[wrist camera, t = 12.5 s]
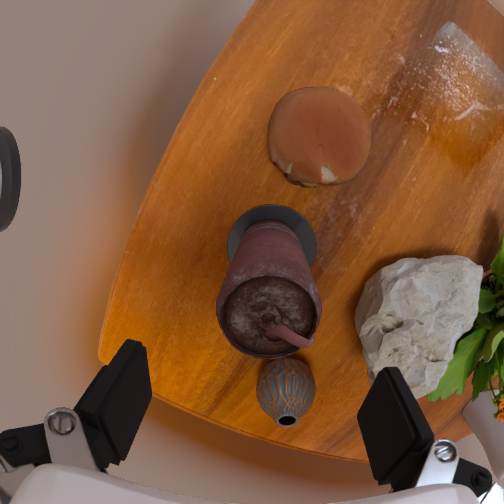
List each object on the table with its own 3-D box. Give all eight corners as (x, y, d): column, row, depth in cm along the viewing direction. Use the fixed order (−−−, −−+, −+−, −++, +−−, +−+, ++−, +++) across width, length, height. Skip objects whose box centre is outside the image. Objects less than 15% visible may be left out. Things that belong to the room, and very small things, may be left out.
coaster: (224, 282, 30) (223, 284, 30) (232, 198, 27) (231, 199, 27) (307, 293, 30) (307, 294, 29) (322, 211, 27) (323, 211, 27)
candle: (491, 409, 36) (524, 466, 17) (456, 417, 36) (491, 486, 17) (508, 386, 34) (547, 441, 15) (475, 391, 34) (519, 461, 15)
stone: (470, 227, 24) (530, 345, 13) (455, 283, 30) (490, 382, 20) (342, 260, 28) (370, 406, 17) (350, 311, 34) (367, 423, 24)
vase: (302, 391, 34) (307, 441, 26) (252, 383, 34) (247, 434, 26) (319, 353, 32) (330, 404, 24) (265, 343, 32) (262, 395, 24)
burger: (337, 81, 23) (349, 66, 19) (377, 163, 25) (395, 163, 21) (248, 117, 25) (244, 107, 20) (290, 201, 27) (294, 208, 23)
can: (285, 287, 29) (294, 378, 16) (230, 262, 29) (198, 340, 15) (312, 236, 28) (349, 299, 14) (254, 208, 27) (239, 249, 14)
